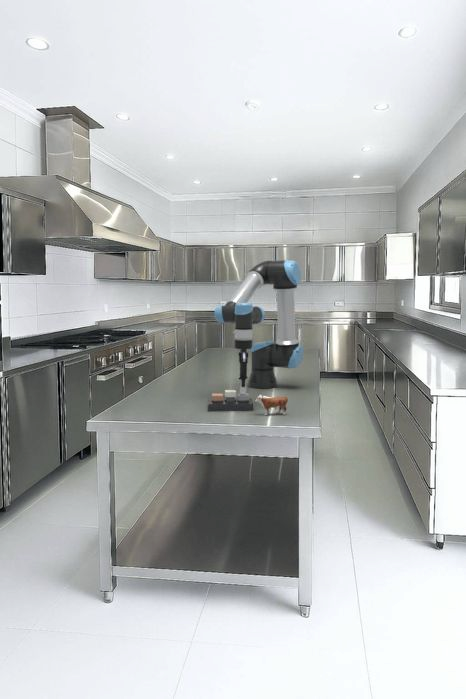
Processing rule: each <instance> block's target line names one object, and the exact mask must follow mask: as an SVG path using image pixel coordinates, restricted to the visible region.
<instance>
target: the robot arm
mask: <svg viewBox="0 0 466 699" xmlns="http://www.w3.org/2000/svg"><path fill="white" fill-rule="evenodd" d="M301 272H302V271H301V268H300V265H299V264H298V263H297V261H295V260H289V259H286V260H284V259H281V260H264V261H262V262H259V263H258V264H256V265H254V266H253V267H251V269H250V270H248V272H247V273H246V274H245V277H244V280H243V281H242V283H241V284H240V285H239V286H238V287H237V289H236V290H235V291H234V293H233V294H232V296H230V298H229V299H228V301H227V302H226V303H225V304H224V305H218V306H216V307H215V309H214V314H213V315H214V319H215V321H216V322H217V323H224V324H234V331H233V332H232V333H233V334H234V339H235V340H234V349H236V350H240V352H238V362H239V377H238V380H239V393H240V394H246V393H247V386H248V387H250V388H254V389H272V388H273V389H274V388H277V387H278V381H277V378H276V374H275V368H283V369H297V368H299V367H300V365H301V364H302V361H303V357H304V348H303V346H302V345H300V342H299V340H298V339H297V338H296V314H295V310H296V308H295V291H296V289H297V288H298V285H299V284H300V283H301V278H302V273H301ZM265 285H272V287H273V290H274V291H275V292H276V310H277V311H276V312H277V334H278V337H277V338H278V339H277V340H276V341H274V340H268V341H259V342H254V343H253V340H252V339H253V330H254V329H253V325H255V324H256V325H257V324H261V323H262V322H263V321H264V320H265V319H266V311H265V310H264V308H263V307H261V306H255V305H254V306H253V304H252V303H251V302H249V301H250V300H251V298H252V297H253V296H254V294H255V293H256V291H257V290H258V289H261V288H262V287H264V286H265ZM250 349H251V351H250V353H251V370H250V375H249V377H248V376H247V375H248V374H247V373H248V361H249V360H248V359H249V352H248V351H247V350H250ZM247 379H248V381H247Z"/></svg>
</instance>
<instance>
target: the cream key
mask: <svg viewBox="0 0 466 699" xmlns="http://www.w3.org/2000/svg"><path fill="white" fill-rule="evenodd" d="M224 397H225V398H226V402H235V398H237V391H236V389H224Z"/></svg>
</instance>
